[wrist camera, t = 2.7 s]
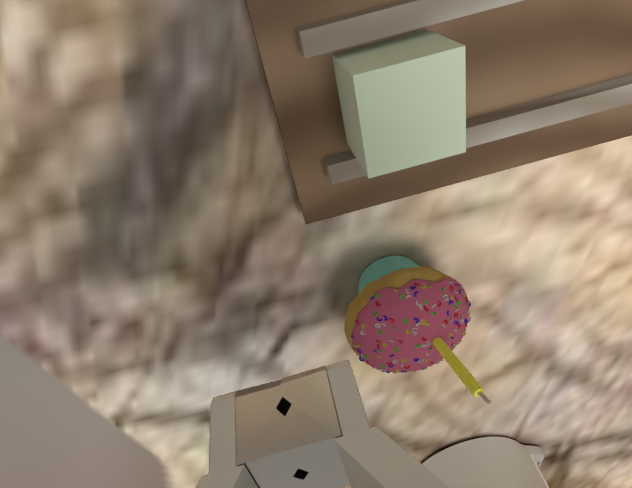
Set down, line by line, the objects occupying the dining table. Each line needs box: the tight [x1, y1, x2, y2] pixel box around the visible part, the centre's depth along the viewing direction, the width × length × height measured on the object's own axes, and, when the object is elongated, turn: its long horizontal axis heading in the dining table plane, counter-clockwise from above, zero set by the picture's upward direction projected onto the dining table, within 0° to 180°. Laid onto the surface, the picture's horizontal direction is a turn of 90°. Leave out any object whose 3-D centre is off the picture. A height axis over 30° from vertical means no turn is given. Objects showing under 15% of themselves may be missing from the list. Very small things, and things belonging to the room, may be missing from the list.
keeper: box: [332, 29, 466, 179], centre depth 22 cm, size 5×5×4 cm
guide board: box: [246, 0, 632, 224], centre depth 23 cm, size 14×30×5 cm, turn 102°
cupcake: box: [344, 255, 492, 404], centre depth 29 cm, size 9×8×12 cm
